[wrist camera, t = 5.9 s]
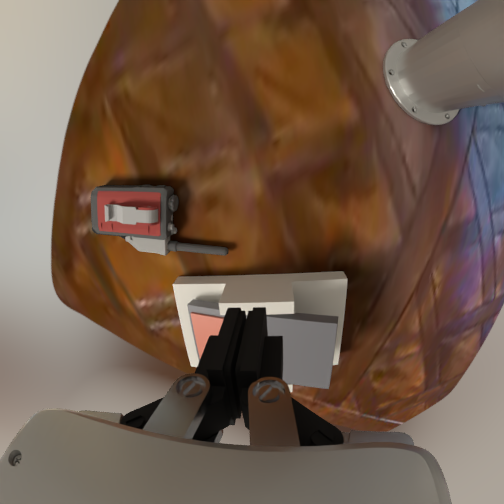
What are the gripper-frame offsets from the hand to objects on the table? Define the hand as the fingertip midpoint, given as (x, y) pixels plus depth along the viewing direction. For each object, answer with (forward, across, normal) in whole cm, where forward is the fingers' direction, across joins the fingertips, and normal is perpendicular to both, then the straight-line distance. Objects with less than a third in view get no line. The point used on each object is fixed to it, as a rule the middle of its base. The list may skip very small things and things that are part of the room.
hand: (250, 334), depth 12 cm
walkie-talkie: (+23, +15, -1) cm, 27 cm away
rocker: (+17, +2, +14) cm, 23 cm away
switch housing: (+22, +2, +15) cm, 27 cm away
